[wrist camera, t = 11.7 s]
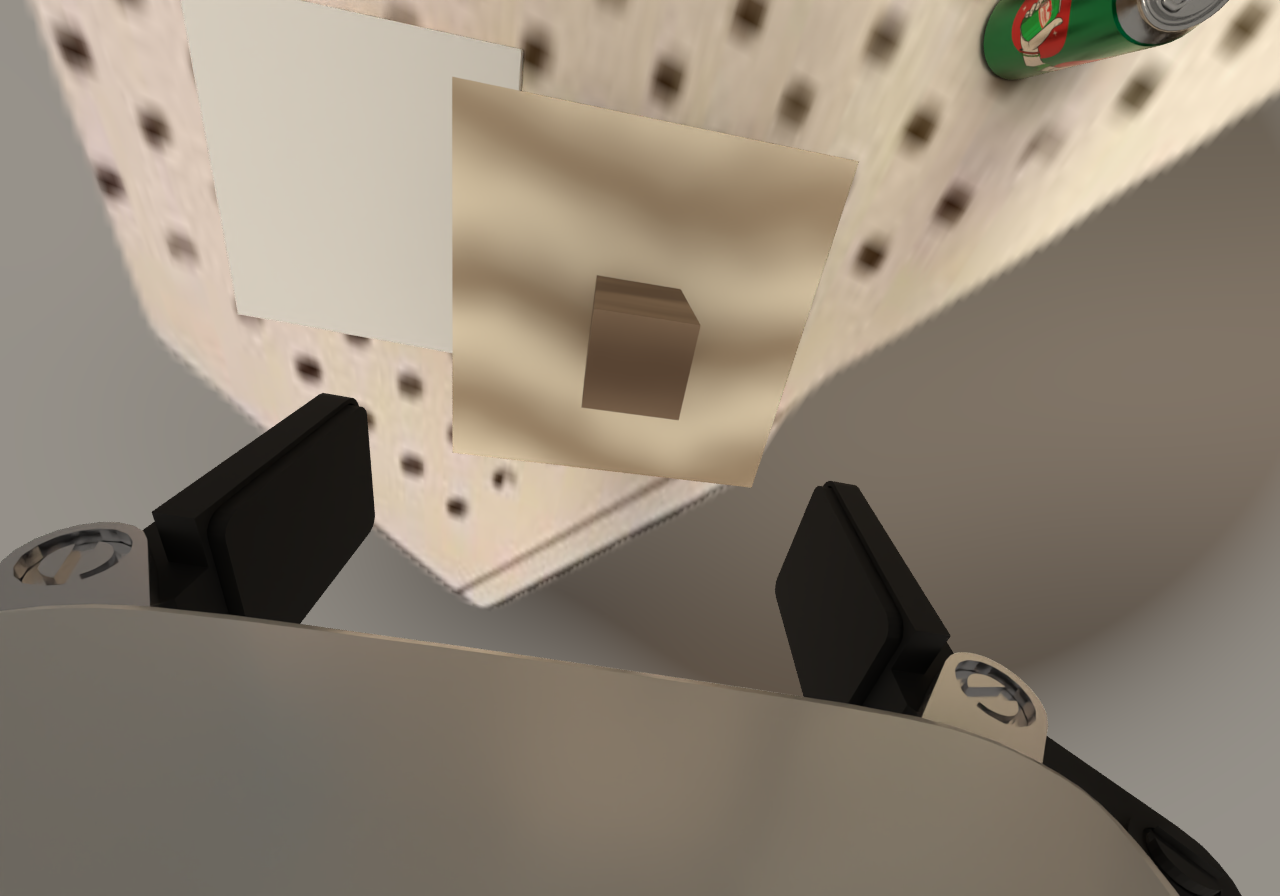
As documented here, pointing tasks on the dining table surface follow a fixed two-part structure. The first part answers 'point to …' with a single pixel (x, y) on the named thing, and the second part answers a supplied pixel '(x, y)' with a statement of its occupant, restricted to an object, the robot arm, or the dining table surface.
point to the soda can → (1083, 31)
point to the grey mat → (336, 161)
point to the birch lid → (627, 284)
